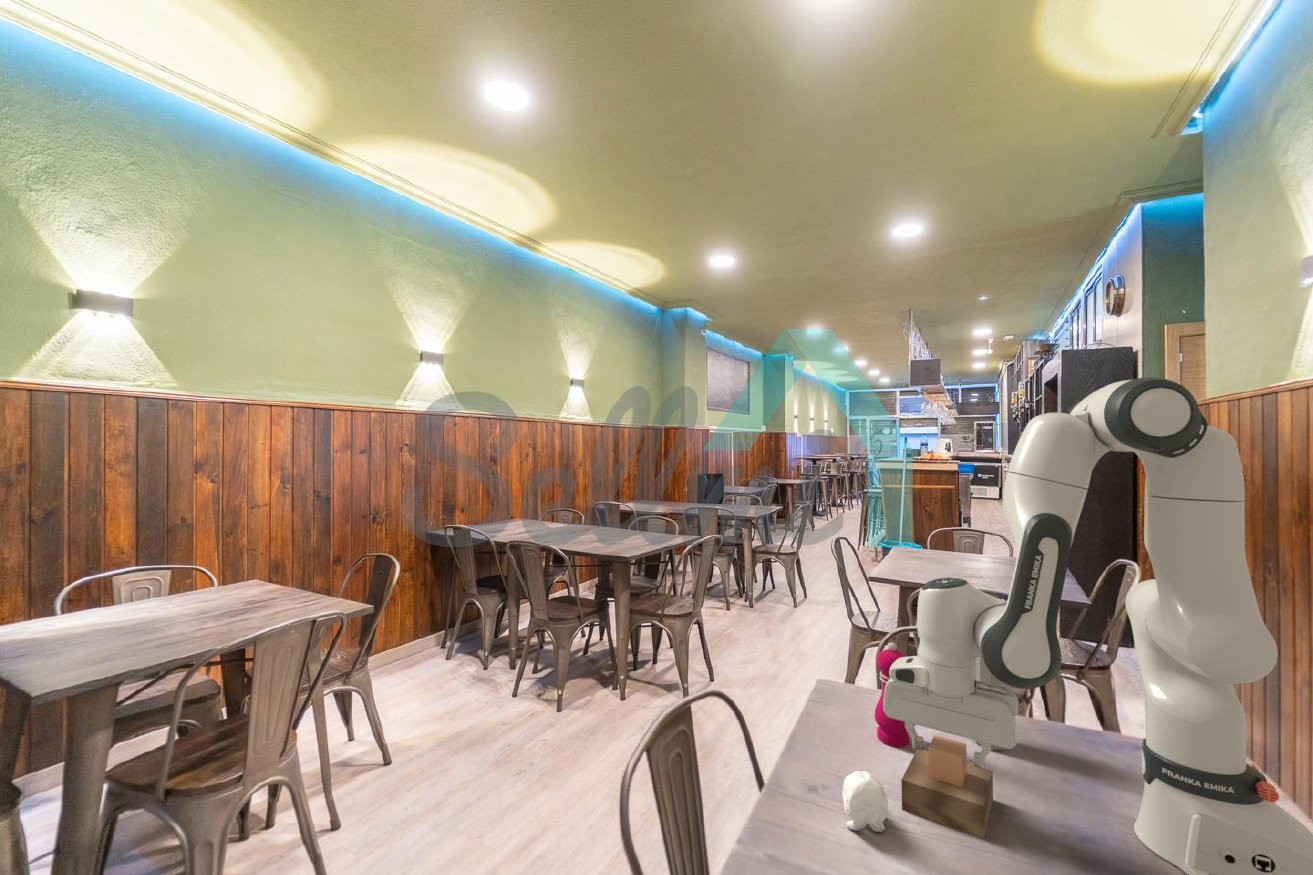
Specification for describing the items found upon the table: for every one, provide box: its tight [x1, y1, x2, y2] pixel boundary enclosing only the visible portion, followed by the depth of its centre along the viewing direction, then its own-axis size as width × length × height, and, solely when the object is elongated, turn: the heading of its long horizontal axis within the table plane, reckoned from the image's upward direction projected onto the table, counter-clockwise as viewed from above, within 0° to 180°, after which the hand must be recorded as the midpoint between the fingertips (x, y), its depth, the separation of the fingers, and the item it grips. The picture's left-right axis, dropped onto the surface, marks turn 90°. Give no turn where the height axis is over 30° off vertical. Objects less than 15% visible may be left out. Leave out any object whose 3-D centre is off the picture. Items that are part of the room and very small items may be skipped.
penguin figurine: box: [840, 770, 889, 833], centre depth 93 cm, size 6×8×12 cm
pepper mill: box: [874, 642, 911, 748], centre depth 118 cm, size 7×7×20 cm
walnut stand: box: [900, 749, 994, 839], centre depth 96 cm, size 12×12×5 cm
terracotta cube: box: [927, 734, 968, 787], centre depth 96 cm, size 5×5×5 cm
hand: (947, 756), depth 96 cm, fingers open, 8 cm apart
